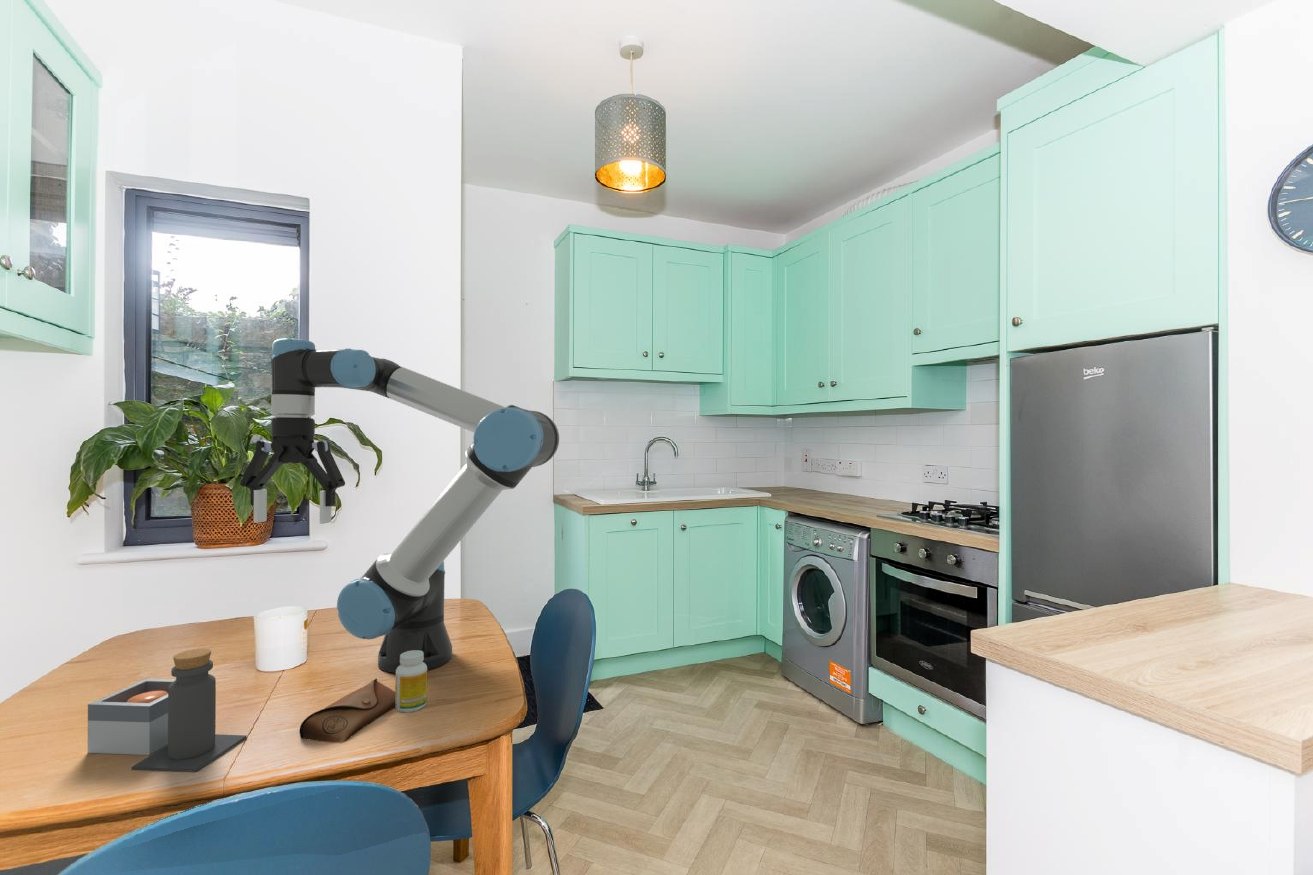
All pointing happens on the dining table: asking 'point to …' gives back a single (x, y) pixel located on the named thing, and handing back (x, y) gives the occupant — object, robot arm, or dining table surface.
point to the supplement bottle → (411, 682)
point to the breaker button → (147, 697)
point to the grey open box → (129, 721)
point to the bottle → (191, 705)
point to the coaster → (192, 764)
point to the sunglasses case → (349, 714)
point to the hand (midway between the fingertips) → (292, 522)
